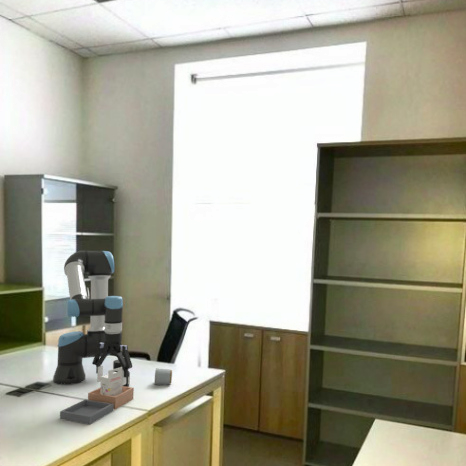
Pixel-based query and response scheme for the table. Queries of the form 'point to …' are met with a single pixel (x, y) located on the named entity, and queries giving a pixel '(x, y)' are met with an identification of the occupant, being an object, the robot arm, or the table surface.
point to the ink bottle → (117, 364)
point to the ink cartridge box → (111, 383)
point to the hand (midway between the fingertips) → (111, 383)
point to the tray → (86, 411)
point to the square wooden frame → (113, 397)
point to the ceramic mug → (163, 376)
